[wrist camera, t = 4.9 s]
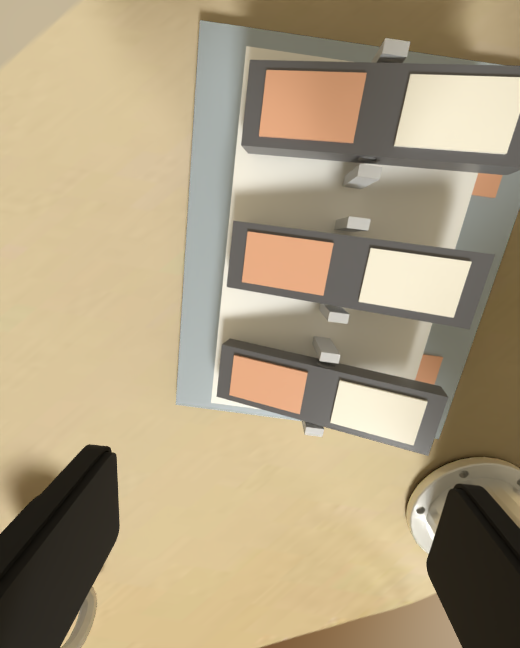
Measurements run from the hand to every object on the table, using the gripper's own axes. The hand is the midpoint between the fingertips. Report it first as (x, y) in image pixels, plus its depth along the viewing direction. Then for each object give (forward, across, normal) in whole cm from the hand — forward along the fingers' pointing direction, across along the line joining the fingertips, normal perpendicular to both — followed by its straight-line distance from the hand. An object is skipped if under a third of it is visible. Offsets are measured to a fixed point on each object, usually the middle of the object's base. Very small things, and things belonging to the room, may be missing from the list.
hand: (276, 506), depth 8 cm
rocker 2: (+11, -4, -6) cm, 13 cm away
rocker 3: (+11, -3, +2) cm, 12 cm away
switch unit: (+18, -4, -6) cm, 19 cm away
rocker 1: (+11, -4, -14) cm, 18 cm away
